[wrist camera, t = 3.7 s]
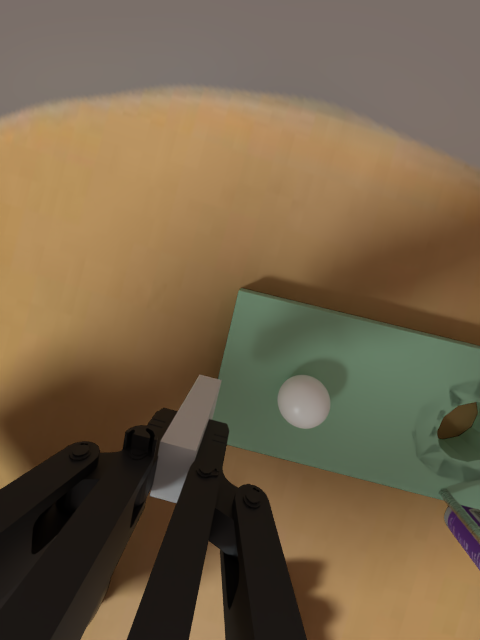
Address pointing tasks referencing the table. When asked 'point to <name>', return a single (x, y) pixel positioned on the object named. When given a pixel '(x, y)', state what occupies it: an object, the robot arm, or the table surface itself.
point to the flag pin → (461, 513)
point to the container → (465, 532)
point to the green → (353, 395)
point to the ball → (303, 401)
